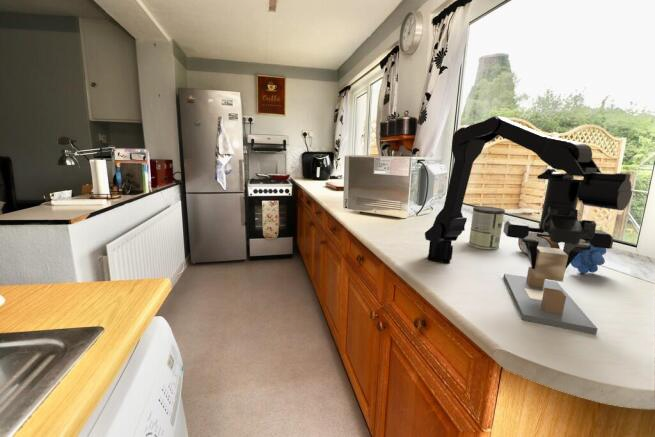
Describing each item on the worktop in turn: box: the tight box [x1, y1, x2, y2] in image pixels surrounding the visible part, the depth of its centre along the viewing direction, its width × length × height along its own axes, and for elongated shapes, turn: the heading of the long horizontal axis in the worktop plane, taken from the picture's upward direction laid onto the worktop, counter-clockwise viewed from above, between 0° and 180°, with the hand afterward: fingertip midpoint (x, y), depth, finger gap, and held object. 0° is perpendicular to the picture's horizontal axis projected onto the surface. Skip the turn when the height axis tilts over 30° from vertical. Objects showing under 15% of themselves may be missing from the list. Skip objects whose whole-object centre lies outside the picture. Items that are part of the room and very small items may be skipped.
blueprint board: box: [503, 266, 598, 335], centre depth 70 cm, size 12×24×5 cm, turn 159°
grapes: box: [570, 244, 607, 274], centre depth 87 cm, size 12×7×12 cm, turn 99°
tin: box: [517, 236, 561, 256], centre depth 102 cm, size 15×3×8 cm, turn 7°
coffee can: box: [468, 205, 506, 251], centre depth 113 cm, size 10×10×14 cm
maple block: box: [530, 246, 568, 283], centre depth 68 cm, size 5×5×6 cm
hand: (546, 270), depth 69 cm, fingers closed on maple block, 5 cm apart
